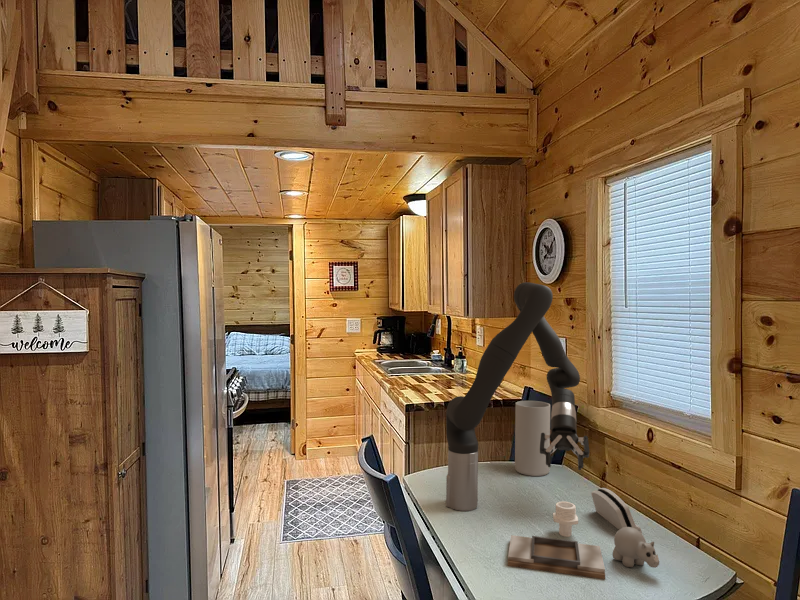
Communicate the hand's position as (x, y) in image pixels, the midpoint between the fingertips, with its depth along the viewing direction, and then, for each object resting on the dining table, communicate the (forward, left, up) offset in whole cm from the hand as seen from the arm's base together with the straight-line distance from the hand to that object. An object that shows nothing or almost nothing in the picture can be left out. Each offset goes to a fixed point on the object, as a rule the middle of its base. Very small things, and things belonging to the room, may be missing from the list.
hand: (564, 467), depth 157 cm
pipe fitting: (0, -12, -15) cm, 19 cm away
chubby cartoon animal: (+16, -26, -15) cm, 34 cm away
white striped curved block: (+14, 0, -15) cm, 20 cm away
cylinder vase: (-10, +40, -15) cm, 44 cm away
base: (-3, -27, -15) cm, 31 cm away
